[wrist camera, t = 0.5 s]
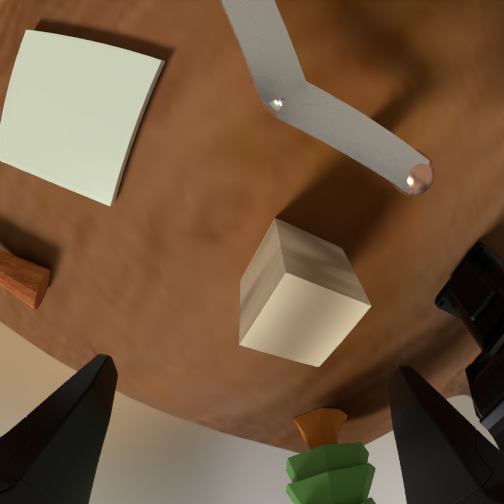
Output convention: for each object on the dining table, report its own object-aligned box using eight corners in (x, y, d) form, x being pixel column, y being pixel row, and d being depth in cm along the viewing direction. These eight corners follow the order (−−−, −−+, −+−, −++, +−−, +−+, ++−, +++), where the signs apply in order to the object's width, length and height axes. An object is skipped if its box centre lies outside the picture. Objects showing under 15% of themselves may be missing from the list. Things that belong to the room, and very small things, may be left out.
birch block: (342, 248, 20) (371, 305, 15) (304, 303, 22) (318, 367, 17) (274, 217, 19) (285, 272, 14) (240, 279, 21) (239, 344, 16)
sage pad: (165, 61, 14) (161, 60, 13) (114, 201, 18) (110, 206, 17) (33, 30, 12) (26, 29, 11) (2, 155, 16) (-5, 158, 15)
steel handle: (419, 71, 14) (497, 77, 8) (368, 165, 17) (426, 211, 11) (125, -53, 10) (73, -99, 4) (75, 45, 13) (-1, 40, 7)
